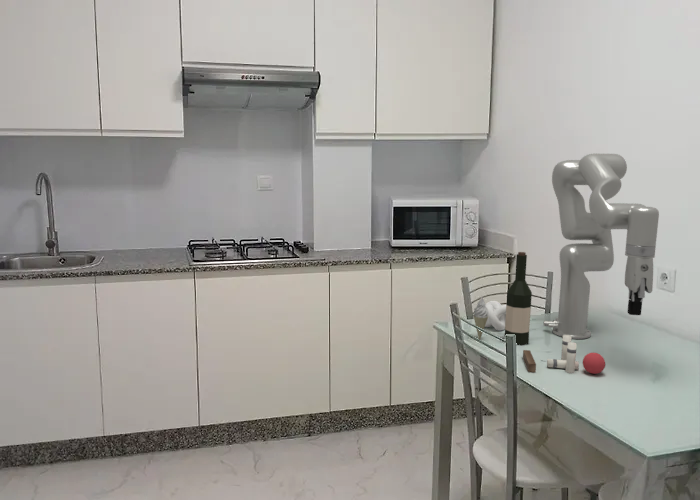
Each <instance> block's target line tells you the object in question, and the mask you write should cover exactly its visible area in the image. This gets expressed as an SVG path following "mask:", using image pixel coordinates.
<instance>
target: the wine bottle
mask: <svg viewBox="0 0 700 500" xmlns="http://www.w3.org/2000/svg"><path fill="white" fill-rule="evenodd" d="M527 259H528V255H527V253H526V252H525V251H518V253H517V254H516V258H515V260H516V261H515V276H514V277H515V278H514V280H513V282H512V283H511V285H509V286H510V287H509V288H508V289H507V292H506V304H505V305H506V320H505V328H504V336H505V335H506V334H515V335H516V343H517V345H516V346H525V345H529V342H530V341H529V340H530V325H531V324H530V323H531V312H532V310H531V309H532V294H533V293H532V290H531V287H530V286H529V284H528V283H527V281H526V277H527V276H526V273H527Z"/></svg>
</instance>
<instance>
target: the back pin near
mask: <svg viewBox="0 0 700 500" xmlns="http://www.w3.org/2000/svg"><path fill="white" fill-rule="evenodd" d="M576 357H577V343H576V342H573V341H571V342H568V347H567V360H566V369H565V373H567V374H575V371H576V370H575V361H577V360H576Z"/></svg>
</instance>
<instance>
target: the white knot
mask: <svg viewBox="0 0 700 500" xmlns="http://www.w3.org/2000/svg"><path fill="white" fill-rule="evenodd" d="M485 304H486V305H485V306H486V308H487V309H488V312H489V313H488V316H489V317H488V319H487V322H486V325H485V327H484V328H490V327H493V328H494V329H495V330H496V331H500V332H501V331H503V330H505V320H506V304H501V303H500V302H499V301H497V300H490V301H488V302H486V303H485Z"/></svg>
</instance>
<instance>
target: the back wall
mask: <svg viewBox="0 0 700 500" xmlns="http://www.w3.org/2000/svg"><path fill="white" fill-rule="evenodd" d="M522 352H523V353H522V359H523V362H524V364H525V367H526V370H527V372H528V373H536V370H537V369H536V368H537V363H536V361H535V359H534V357H533V354H532V352H531V350H527V349H523V350H522Z"/></svg>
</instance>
